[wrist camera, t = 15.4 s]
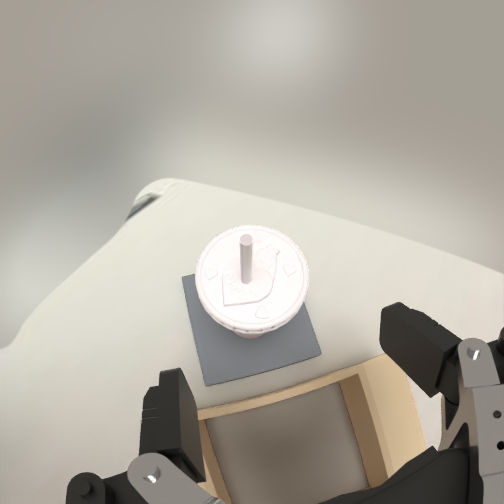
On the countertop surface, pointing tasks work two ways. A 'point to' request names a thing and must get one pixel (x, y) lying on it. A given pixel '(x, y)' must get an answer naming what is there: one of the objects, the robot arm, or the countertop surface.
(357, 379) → the carton
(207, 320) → the mat
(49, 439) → the countertop surface
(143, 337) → the countertop surface
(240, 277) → the smoothie
